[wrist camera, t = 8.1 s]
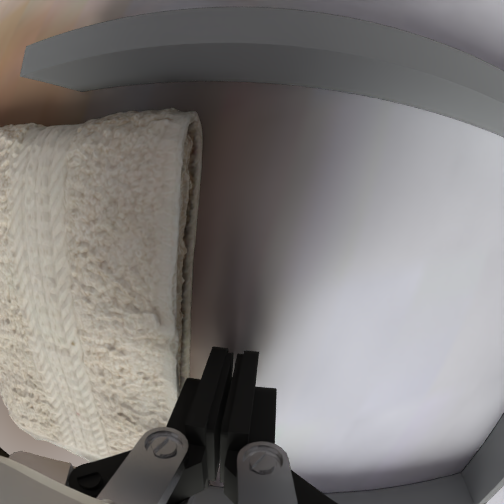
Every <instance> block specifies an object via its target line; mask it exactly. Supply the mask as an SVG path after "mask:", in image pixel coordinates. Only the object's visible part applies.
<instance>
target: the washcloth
mask: <svg viewBox="0 0 504 504" xmlns="http://www.w3.org/2000/svg"><path fill="white" fill-rule="evenodd" d="M202 143H203V136H202V126H201V123H200V120H199V117H198V114H197V112H195V111H189V112H181V111H179V110H177V109H175V108H171V109H163V110H159V111H158V110H146V111H142V112H138V111H127V112H126V113H122V112H119V113H115V114H111V115H107V116H105V117H103V118H99V119H91V120H89V121H87V122H85V123H84V124H76V125H55V126H49V127H45V126H43V125H41V124H35V123H33V122H32V123H29V124H24V125H22V124H18V125H15V126H14V125H12V124H11V125H6V126H3V127H0V394H1V396H2V399H3V402H4V404H5V406H6V407H7V409H8V411H9V415H10V416H11V418H12V419H13V421H14V422H15V423H16V425H17V426H18V427H19V428H20V429H21V430H23V431H25V432H26V433H28V434H30V435H31V436H32V437H34V438H35V439H37V440H45V441H48V442H51V443H53V444H54V445H57V446H59V447H62V448H64V449H66V450H68V451H70V452H71V453H74V454H76V455H78V456H81V457H83V458H84V459H86V460H87V461H89V462H93V461H97V460H100V459H104V458H107V457H110V456H114V455H117V454H120V453H123V452H126V451H129V450H132V449H133V448H134V446H135V445H136V444H137V442H138V441H139V439H140V438H141V437H142V436H143V435H144V434H145V433H146V432H147V431H149V430H151V429H153V428H158V427H166V426H167V423H168V421H169V419H170V416H171V414H172V411H173V409H174V407H175V404H176V402H177V399H178V397H179V395H180V392H181V390H182V388H183V385H184V383H185V381H186V379H187V378H189V376H190V373H189V370H190V342H191V321H190V319H191V310H190V309H191V296H192V275H193V256H194V246H195V242H196V236H195V234H196V228H197V216H198V205H199V192H200V181H201V170H202Z"/></svg>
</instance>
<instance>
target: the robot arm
mask: <svg viewBox="0 0 504 504" xmlns="http://www.w3.org/2000/svg"><path fill="white" fill-rule="evenodd" d="M258 356H259V352H255V351H245V350H244V353H243V354H237V359H236V363H235V368H234V372H233V353H228V348H220V347H212V350H211V353H210V356H209V358H208V361H207V364H206V367H205V370H204V372H203V375H202V378H201V380H200V379H193V378H187V379H186V381H185V383H184V385H183V388H182V390H181V392H180V395H179V397H178V399H177V402H176V404H175V407H174V409H173V411H172V414H171V416H170V419H169V421H168V423H167V426H166V427H158V428H153V429H151V430H149V431H147V432H146V433H145V434H144V435H143V436H142V437H141V438H140V439H139V441H138V442H137V444H136V445H135V446H134V448H133V449H132V450H129V451H126V452H123V453H120V454H117V455H114V456H110V457H107V458H104V459H100V460H97V461H93V462H90V463H86V464H83V465H80V466H78V467H74V466H72V464H71V463H67V462H63V461H58V460H54V459H50V458H46V457H42V456H39V455H35V454H32V453H28V452H23V451H18V452H14V453H13V454H11V455H10V456H9V457H8V458H6V457H3V456H0V504H192V502H193V500H194V496H195V494H197V493H199V492H201V491H203V490H204V488H208V486H209V481H216V477H217V472H218V468H219V463H220V482H223V483H224V494H225V495H226V496H227V497H228V498H229V499H230V500H231V501H232V502H233V503H234V504H338V503H336V502H335V501H333V500H332V499H330V498H329V497H327V496H326V495H325V494H323V493H322V492H320V491H319V490H318V489H316V488H315V487H313V486H312V485H311V484H309V483H308V482H307V481H305V480H304V479H303V478H301V477H300V476H299V475H297V474H296V473H295V472H293V471H292V470H291V468H290V463H289V458H288V456H287V453H286V452H285V451H284V450H283V449H282V448H281V447H279V446H278V445H276V444H275V420H276V388H265V387H255V385H256V375H257V366H258ZM232 372H233V377H232Z"/></svg>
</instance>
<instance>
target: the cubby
mask: <svg viewBox="0 0 504 504" xmlns="http://www.w3.org/2000/svg"><path fill="white" fill-rule="evenodd" d="M20 76H21V77H25V78H29V79H34V80H38V81H42V82H46V83H50V84H54V85H58V86H62V87H65V88H69V89H73V90H76V91H80V92H83V91H89V90H96V89H103V88H110V87H118V86H127V85H137V84H149V83H163V82H186V81H236V82H258V83H273V84H285V85H295V86H305V87H313V88H320V89H328V90H334V91H341V92H347V93H353V94H358V95H363V96H368V97H373V98H378V99H383V100H387V101H392V102H396V103H400V104H404V105H408V106H412V107H416V108H420V109H423V110H427V111H430V112H434V113H437V114H441V115H444V116H447V117H450V118H453V119H456V120H459V121H462V122H465V123H468V124H471V125H474V126H476V127H479V128H482V129H485V130H487V131H490V132H492V133H495V134H497V135H500V136H502V137H504V71H503V70H501V69H499V68H497V67H495V66H493V65H491V64H489V63H487V62H485V61H483V60H481V59H479V58H477V57H474V56H472V55H470V54H467V53H465V52H463V51H460V50H458V49H455V48H453V47H450V46H448V45H445V44H443V43H440V42H437V41H434V40H432V39H429V38H426V37H423V36H420V35H417V34H413V33H410V32H407V31H404V30H400V29H397V28H393V27H389V26H385V25H381V24H377V23H373V22H369V21H364V20H360V19H355V18H350V17H344V16H339V15H333V14H326V13H319V12H312V11H303V10H293V9H281V8H264V7H210V8H193V9H181V10H172V11H163V12H156V13H149V14H142V15H136V16H131V17H125V18H120V19H116V20H111V21H107V22H102V23H98V24H94V25H90V26H86V27H83V28H79V29H76V30H72V31H69V32H66V33H62V34H59V35H56V36H53V37H50V38H48V39H45V40H42V41H39V42H36V43H34V44H31V45H29V46H26V50H25V54H24V59H23V64H22V69H21V74H20ZM503 486H504V414H503V416H502V417H501V419H500V420H499V422H498V424H497V425H496V427H495V428H494V430H493V431H492V433H491V434H490V435H489V437H488V438H487V440H486V441H485V442H484V444H483V445H482V447H481V448H480V449H479V451H478V452H477V453H476V455H475V456H474V457H473V459H472V460H471V461H470V462H469V464H468V465H467V466H466V467H465V469H464V470H463V471H462V472H461V473H459V474H455V475H451V476H447V477H443V478H439V479H435V480H430V481H426V482H421V483H416V484H410V485H405V486H399V487H392V488H385V489H377V490H368V491H358V492H344V493H323V494H325V495H326V496H327V497H329V498H330V499H332V500H333V501H335V502H336V503H338V504H486V503H487V502H488V501H489V500H490V499H491V498H492V497H493V496H494V495H495V494H496V493H497V492H498V491H499V490H500V489H501V488H502V487H503ZM192 504H234V503H233V502H232V501H231V500H230V499H229V498H228V497H227V496H226V495H225V494H224V488H221V487H214V486H208V488H204V490H203V491H201V492H199V493H197V494H195V496H194V500H193V502H192Z"/></svg>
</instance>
